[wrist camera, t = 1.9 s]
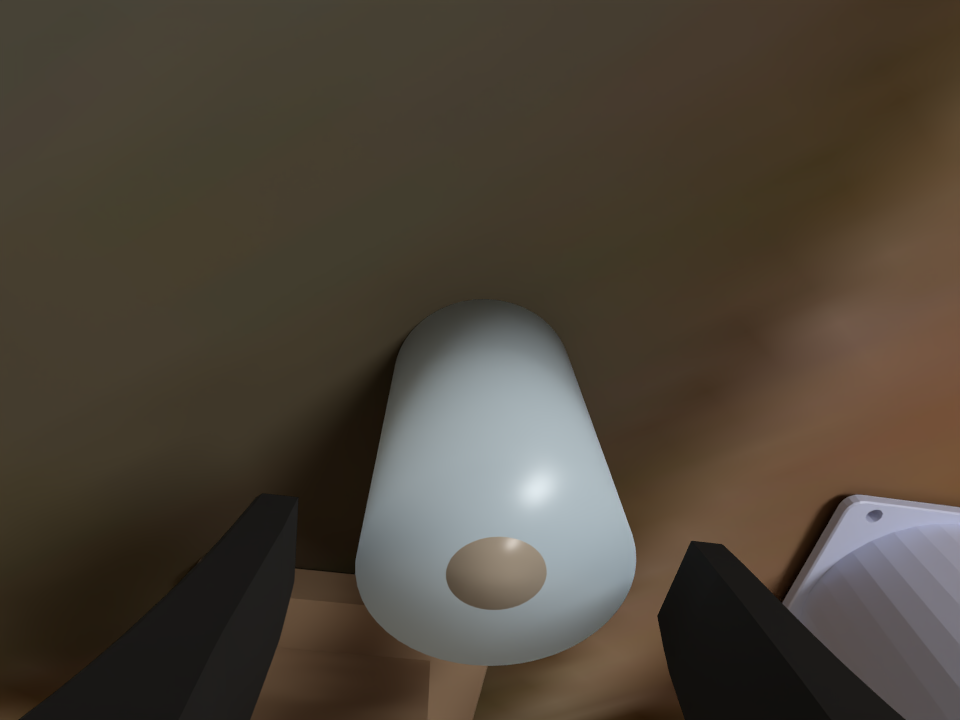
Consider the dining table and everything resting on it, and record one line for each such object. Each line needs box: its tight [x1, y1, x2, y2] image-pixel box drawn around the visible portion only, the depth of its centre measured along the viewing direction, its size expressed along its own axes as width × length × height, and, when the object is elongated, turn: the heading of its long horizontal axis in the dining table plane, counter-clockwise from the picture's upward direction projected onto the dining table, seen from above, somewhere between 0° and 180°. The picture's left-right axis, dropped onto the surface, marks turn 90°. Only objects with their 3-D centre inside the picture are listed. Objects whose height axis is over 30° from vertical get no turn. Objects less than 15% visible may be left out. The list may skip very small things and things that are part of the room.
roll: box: [355, 299, 636, 666], centre depth 14 cm, size 5×5×7 cm
